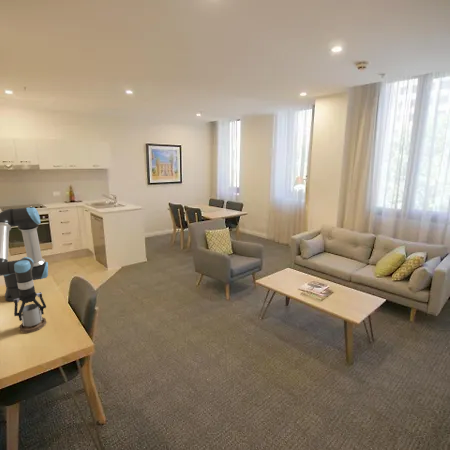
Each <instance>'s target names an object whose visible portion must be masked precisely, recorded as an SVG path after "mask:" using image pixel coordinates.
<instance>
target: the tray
mask: <svg viewBox="0 0 450 450" xmlns="http://www.w3.org/2000/svg"><path fill="white" fill-rule="evenodd" d="M42 319H43V320H42V321H41V322H40V323H38V324H37V325H34V326H23V323H21V324H20V325H19V330H20V332H22V333H25V334H27V333H34V332H37V331H39V330H41V329H43V328H44V327H45V326H46V325H47V320H46V318H45V317H44V316H42Z"/></svg>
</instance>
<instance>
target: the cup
mask: <svg viewBox="0 0 450 450" xmlns="http://www.w3.org/2000/svg"><path fill="white" fill-rule="evenodd" d="M39 309H40V308H39V307H38V306H37V305H36V304H35V303H29V304H25V306H24V308H23V311H22V314H23V319H24V325H25V326H34V325H37V324H38V323H40V322H41V317H40V311H39Z"/></svg>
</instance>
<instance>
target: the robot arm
mask: <svg viewBox="0 0 450 450" xmlns="http://www.w3.org/2000/svg"><path fill="white" fill-rule="evenodd" d="M40 224H41V217H40V214H39V212H38V209H37V208H36V207H18V208H7V209H4V210H2V211H0V277H2V276H3V278H4V284H5V289H6V290H5V294H4V299H5V301H7V302H14V308H13V309H14V313H13V314H14V317H18V320H19V322H22V323H23V326H25V325H24V319H23V314H22V311H23V308H24V306H26V304H27V303H33V304H36V305H37V306H38V307H39V311H40V317H41V321H42V320H43V319H42V317H43V315H44V314H45V313H44V309H46V308H47V305H46V302H45V300H44V298H43V294H42V292H36V289H35V288H36V287H35V282H34V281H36V280H37V281H38V280H43V279H47V277H48V276H49V262H48V261H46V259H44V258H43V256H42V251H41V250H42V249H41V245H40V239H39V236H38V227H39V225H40ZM12 227H17V229H18V230H19V231H20V232H21V235H22V239H23V245H24V249H25V253H26V256H25V257H22V258H21V259H18V260H10V261H8V260H9V246H10V245H9V244H10V243H9V240H10V239H9V238H10V231H11V230H12ZM36 297H38V298H39V300H40V302H41V303H40V302H39V301H38V300H37V299H36ZM20 301H21V305H20V307H19V310H18V303H19V302H20ZM41 304H42V305H41ZM22 323H21V324H22Z"/></svg>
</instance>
